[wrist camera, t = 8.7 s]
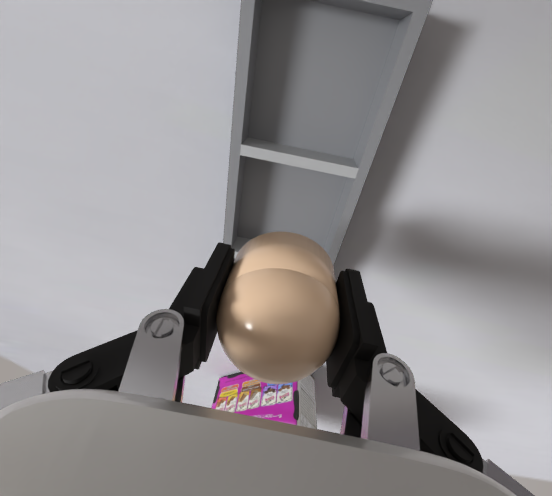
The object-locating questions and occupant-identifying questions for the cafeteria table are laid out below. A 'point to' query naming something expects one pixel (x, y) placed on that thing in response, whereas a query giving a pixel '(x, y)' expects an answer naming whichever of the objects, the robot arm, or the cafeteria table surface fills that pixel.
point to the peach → (279, 308)
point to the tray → (312, 111)
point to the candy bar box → (268, 399)
